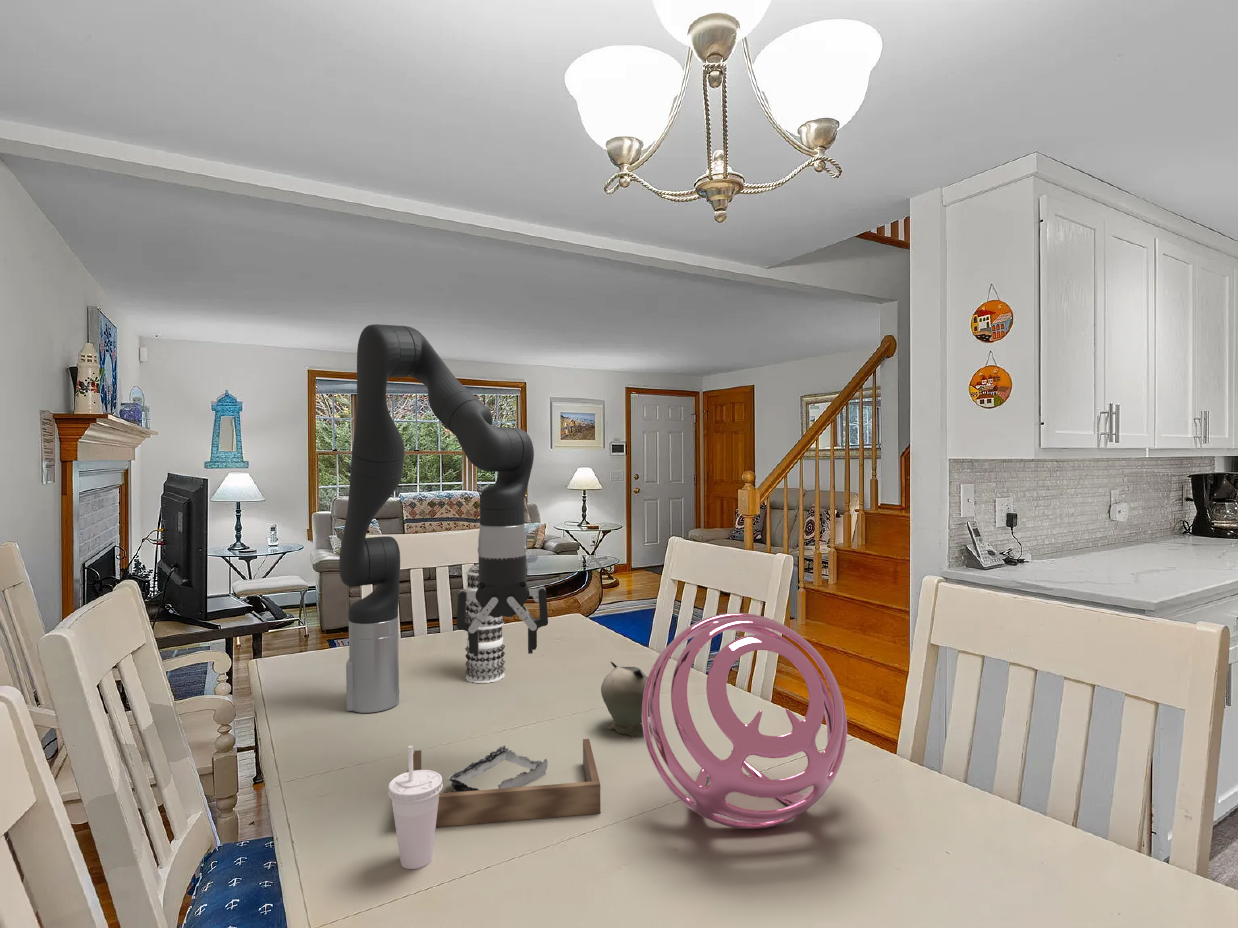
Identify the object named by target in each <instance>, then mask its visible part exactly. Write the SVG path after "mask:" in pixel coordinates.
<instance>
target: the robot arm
mask: <svg viewBox="0 0 1238 928" xmlns="http://www.w3.org/2000/svg"><path fill="white" fill-rule="evenodd" d="M356 349H357V350H356V409H355V410H356V411H355V412H356V413H355V423H354V435H353V443H352V450H351V457H350V458H351V459H350V474H349V475H350V476H349V488H348V498H347V499H348V501H347V509H346V517H345V522H344V529H343V533H342V539H341V543H340V549H339V558H338V559H339V560H338V570H339V577H340V580H341V582H342V583H343V584H344V585H345V586H347V587H361V586H370V585H376V587H375V588H374V590H372V591H371V593H369V594H368V595H366V596H365V597H363V598H361V599H359V600H357V601H355V602H354V603H352V604H351V605H350V606H349V608H348V644H349V645H348V660H347V661H346V663H345V669H346V671H345V673H346V674H345V675H346V677H345V680H346V683H345V684H346V711H347V712H356V713H361V714H362V713H369V714H370V713H377V712H382V711H386V710H390V709H391V708H393V707H395V706H397V705H398V704H399V702H400V671H399V669H400V668H399V667H400V665H399V663H400V660H399V654H400V653H399V652H400V651H399V603H400V579H401V578H400V577H401V552H400V547H399V543H398V542H397V540H396V539H395V538H394V537H392V536H389V535H388V536H387V535H385V536H383V535H382V536H374V537H366V536H367V533H368V530H369V527H370V526H371V523H372V521H373V519H374V518H375V516H376V515H377V514H378V512H379V511H380V510H381V508H382V507H383V506H384V505H385V504H386V502H388V501H389V499H390V498H391V497H392V495H393V494H394V493H395V491H396V490H397V489H398V486H400V482H401V481H402V477H403V468H404V460H405V451H406V449H405V444H404V440H403V438H402V435H401V433H400V431H399V428H398V427H397V426H396V423H395V422H394V420H393V418H392V416H391V413H390V411H389V408H388V404H387V385H388V379H389V378H409V377H411V378H413V379H415V380H417V381H418V382H420V383H421V384H423V385H424V386H425V387H426V389H427V399H428V404H429V407H430V410H431V411H432V413H433V415H434V416H435V417H436V418H437V419H438V420H439V422H440V423H441V424H443V426H444V427H446V428H447V430H448V431H449V432H450V433H451V434H453V435H454V437H455V438H456V439H457V441H458V443H459V445H460V447H461V449H462V450H463V452H464V454H465V456H466V458H467V460H468V461H469V462H470V464H472V465H473V466H475V468H478V469H479V470H481V471H483V472H488V473H495V472H498V474H497V477H496V479H495V483H493V485H492V486H489V487H487V488H484V489H483V490H482V491H481V493H480V495H479V496H480V497H479V529H478V530H479V531H478V540H477V541H478V542H477V543H478V546H477V555H478V564H479V587H478V589H477V591H467V590H466V588H462V589H460V591H459V592H458V595H457V596H458V597H457V611H456V613H457V614H456V629H457V630H459V631H465V632H467V634H468V633H469V651H470V653H473V656H474V657H476V656H478V654H479V630H477V629H478V628H479V626H480V625H481V624H482V623H483V621H484V620H485V619H486V617H487V616H488V615H490V616H492V617H493V618H498V617H501V616H502V617H504V618H505V617H506V618H513V617H515V615H517V616H518V618H520V620H521V621H522V622H523V623H524V624H525V625H526V626H527V654H528V655H532V654H533V651H535V650H536V649H537V647H538V635H537V634H538V633H537V632H538V629H540V628H542V627H546V626H548V625H549V615H548V614H549V613H548V602H547V601H548V598H547V590H546V587H545V586H543V585H541V586H539V587H537V588H529V587H528V584H527V549H528V548H527V536H526V535H527V534H526V528H525V497H526V493H527V490H528V486H529V481H530V477H531V472H532V470H533V466H534V465H533V464H534V458H535V457H534V456H535V454H534V453H535V451H534V444H533V442H532V439H531V437H530V436H529V434H528V433H527V431H525V430H523V429H521V428H519V427H501V426H500V427H498V426H493V423H494V422H493V421H494V417H493V414H492V411H490V409H489V407H488V406H486V405H485V403H483V402H482V401H481V400H480V399H479V398H478V397H476V396H475V395H474V394H473V393H472V392H471V391H470V390H469V389H468V388H467V387H466V386H464V385H463V383H461V381H459V380H458V379H457V378H456V376H455V375H454V374H453V372H452V371H451V369H449V367H447V365H446V363H445V362H444V360H443V359H442V358H441V357H440V356H439V353H437V351H436V350H435V349H434V347H433V346H432V345H431V344H430V342H429V341H428V340H427V338H426V337H425V336H424V335H423V334H422V333H421V332H420V331H419V330H418V329H416V328H414V327H411V326H408V325H407V326H405V325H395V324H369V325H367V326H365V327H364V328H363V329H362V331H361V332H360V335H359V338H358V342H357V348H356ZM530 597H532V598H533V600H534V602H535V603H538V607H539V608H538V609H539V617H537V618H535V617H533V616H532V614H531V613H530V611H529V610H528V609H527V607H526V606H525V604H526V602H527V601H528V599H529V598H530ZM473 598H476V599H477V601H478V602H479V603H480V605H481V606H482V608H481V609H480V611H479V612H478V613H477V615H476V616H475V618H474V619H473V620H472V622H470V621H466V612H467V611H466V606H467V605H469V604H470V603H471V601H472V599H473Z"/></svg>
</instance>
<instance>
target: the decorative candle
mask: <svg viewBox="0 0 1238 928" xmlns="http://www.w3.org/2000/svg"><path fill="white" fill-rule="evenodd" d="M465 574H466V576H467V578H466V583H467V585H466V588H465V589H466V590H467V591H477V589H478V587H479V563H476V564H473V565H472V566H470V567H469V569H468V571H466V572H465ZM481 608H482V606H481V605H480V603H479V602H478V601H477V599H476V598H473V599H472V601H471V603H470V604H469V605H467V606H466V621H470V622H472V620H473V619H474V618H475V616H476V615H477V613H478V612H479V611H480V609H481ZM502 617H503V616H501V617H498V618H493V617H492V616H490V615H488V616H487V617H486V619H485V620H484V621H483V623H482V624H481V625H480V626H479V628H478V629H477V630H479V654H478V656H476V657H474V656H473V653H470V651H469V633H468V632H467V639H466V647H465V649H464V650H465V652H467V653H466V654H465V658H466V659H467V660H466V662H465V663H464V664H465V667H466V669H465V674H466V676H465V680H466V679H467V680H466V681H467V682H468V683H471V682H474V683H473V684H476V683H487V684H491V683H490V682H494V683H496V682H500V681H501V679H502V678H503V679H504V678H505V675H506V674H505V670H506V667H505V666H504V665H505V663H506V660H505V659H504V658H503V657H504V656H505V654H506V652H504V649H505V647H506V645H504V636H503V627H504V624H505V619H504V618H502ZM503 679H502V680H503Z"/></svg>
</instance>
